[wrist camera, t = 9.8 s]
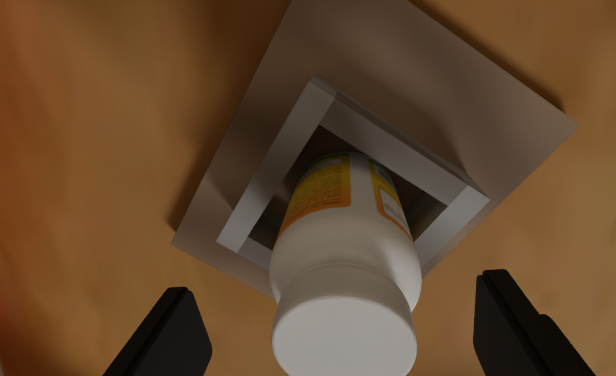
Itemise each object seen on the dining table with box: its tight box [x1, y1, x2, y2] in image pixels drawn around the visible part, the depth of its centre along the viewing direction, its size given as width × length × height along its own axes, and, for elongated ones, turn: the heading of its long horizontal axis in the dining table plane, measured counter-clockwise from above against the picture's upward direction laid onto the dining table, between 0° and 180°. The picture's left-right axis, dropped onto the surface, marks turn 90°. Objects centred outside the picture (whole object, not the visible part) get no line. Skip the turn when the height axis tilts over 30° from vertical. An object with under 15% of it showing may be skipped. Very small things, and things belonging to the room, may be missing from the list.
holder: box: [170, 0, 581, 301], centre depth 17 cm, size 18×14×4 cm
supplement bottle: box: [269, 151, 422, 376], centre depth 13 cm, size 5×5×10 cm
